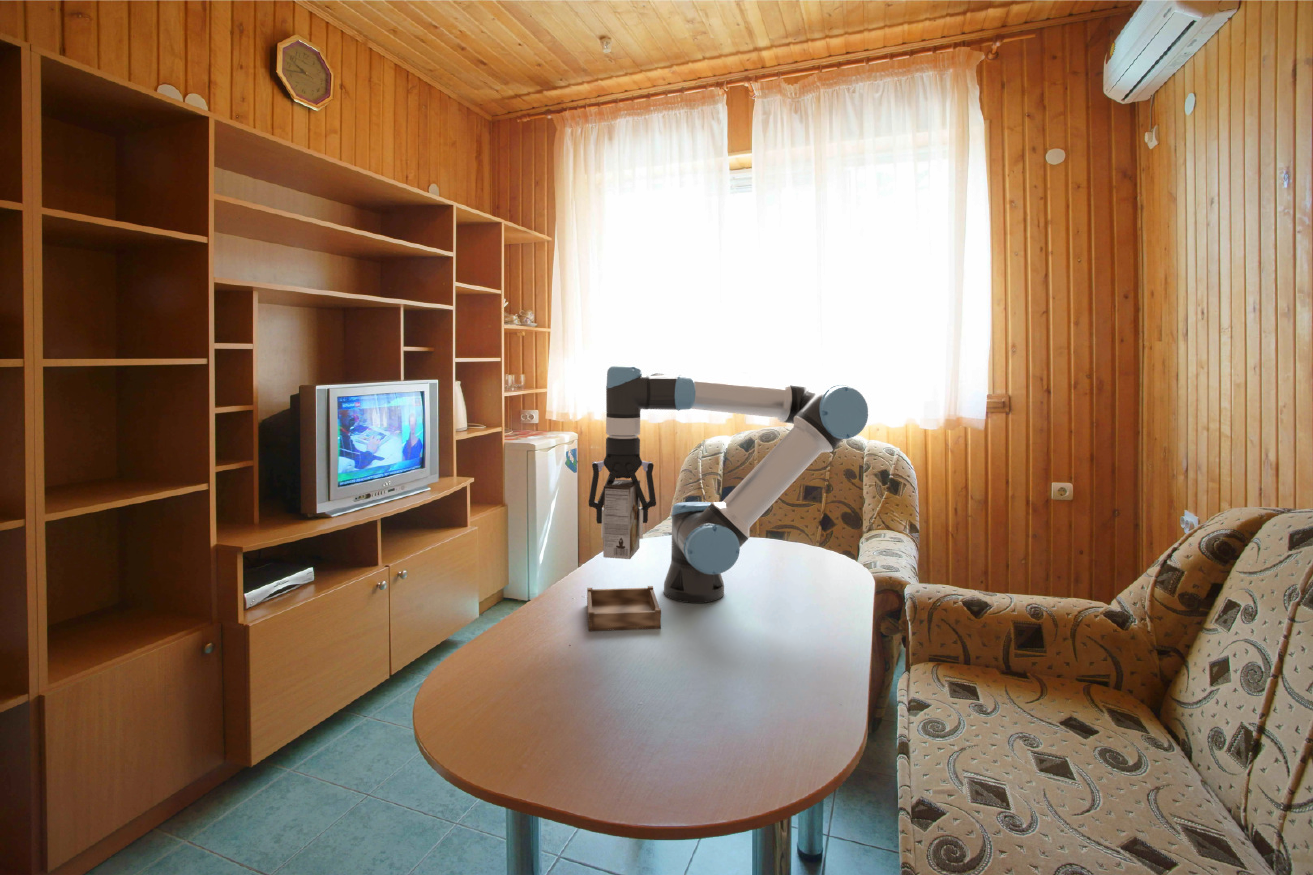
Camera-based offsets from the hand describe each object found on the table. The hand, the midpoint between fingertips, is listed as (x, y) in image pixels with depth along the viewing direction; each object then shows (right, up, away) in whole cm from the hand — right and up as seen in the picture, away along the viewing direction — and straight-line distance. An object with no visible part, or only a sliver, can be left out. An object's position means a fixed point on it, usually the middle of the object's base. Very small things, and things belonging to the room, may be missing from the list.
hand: (621, 537), depth 152 cm
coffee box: (0, -4, 0) cm, 4 cm away
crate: (0, -18, +2) cm, 18 cm away
